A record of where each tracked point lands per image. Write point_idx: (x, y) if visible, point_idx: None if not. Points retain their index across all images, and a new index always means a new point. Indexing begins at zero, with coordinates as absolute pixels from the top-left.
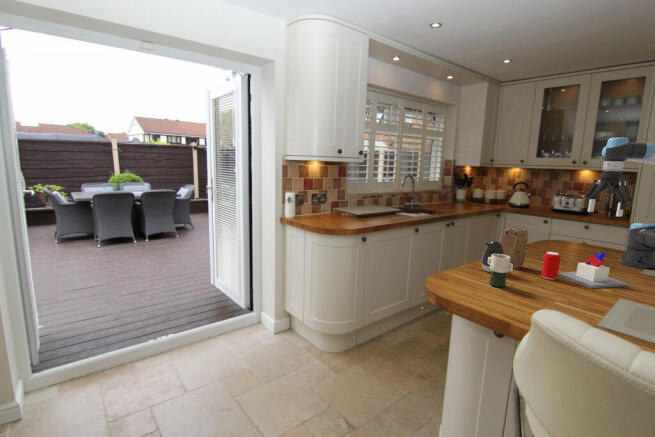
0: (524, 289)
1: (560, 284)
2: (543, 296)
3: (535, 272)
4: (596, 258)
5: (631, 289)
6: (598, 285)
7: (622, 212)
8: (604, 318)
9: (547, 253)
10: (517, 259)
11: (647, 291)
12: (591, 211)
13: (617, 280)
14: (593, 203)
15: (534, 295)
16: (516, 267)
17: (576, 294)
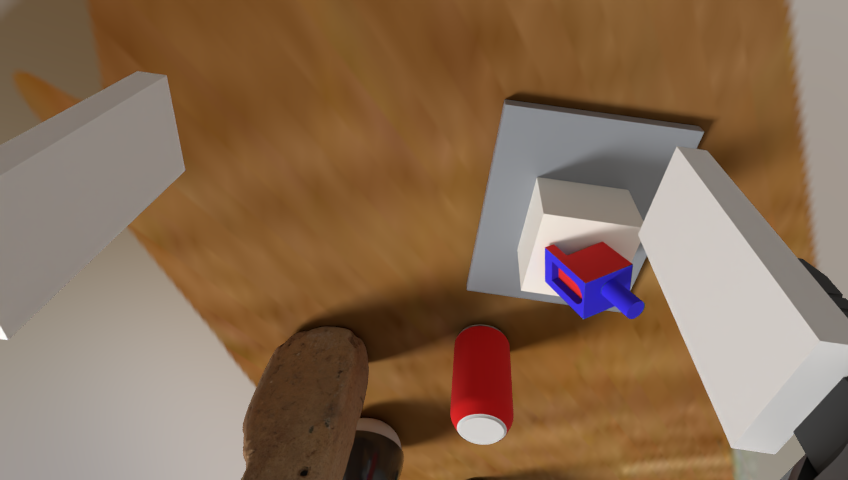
0: (526, 462)
1: (542, 357)
2: (581, 462)
3: (413, 325)
4: (603, 307)
5: (728, 159)
6: (633, 282)
7: (734, 196)
8: (738, 462)
9: (470, 441)
10: (364, 398)
11: (791, 109)
12: (172, 125)
13: (655, 132)
14: (58, 190)
15: (566, 472)
16: (368, 366)
17: (621, 390)
